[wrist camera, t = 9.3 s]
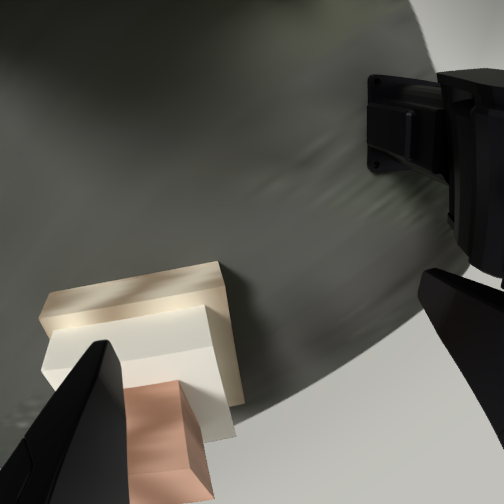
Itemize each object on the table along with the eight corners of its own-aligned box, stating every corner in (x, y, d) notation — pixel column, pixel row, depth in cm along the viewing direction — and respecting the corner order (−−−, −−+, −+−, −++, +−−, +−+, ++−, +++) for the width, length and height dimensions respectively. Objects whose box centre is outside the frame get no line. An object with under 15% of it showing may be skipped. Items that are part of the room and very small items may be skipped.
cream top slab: (204, 304, 19) (212, 345, 16) (227, 400, 24) (236, 436, 21) (53, 330, 17) (40, 370, 14) (109, 418, 22) (108, 453, 19)
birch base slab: (216, 256, 21) (224, 285, 18) (236, 372, 27) (244, 403, 24) (52, 287, 19) (38, 318, 16) (109, 393, 25) (107, 424, 22)
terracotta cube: (178, 379, 16) (190, 468, 12) (200, 427, 19) (214, 499, 14) (89, 392, 16) (82, 476, 11) (125, 438, 18) (128, 507, 14)
